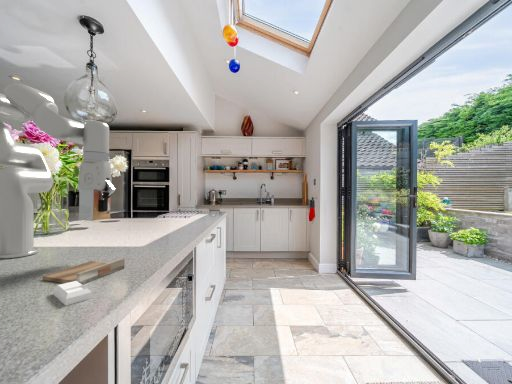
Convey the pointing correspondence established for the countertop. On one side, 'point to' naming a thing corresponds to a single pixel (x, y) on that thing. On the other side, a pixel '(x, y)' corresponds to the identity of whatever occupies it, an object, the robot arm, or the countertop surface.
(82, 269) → the shelf board
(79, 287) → the soap bar
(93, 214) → the small box
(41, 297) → the countertop surface
